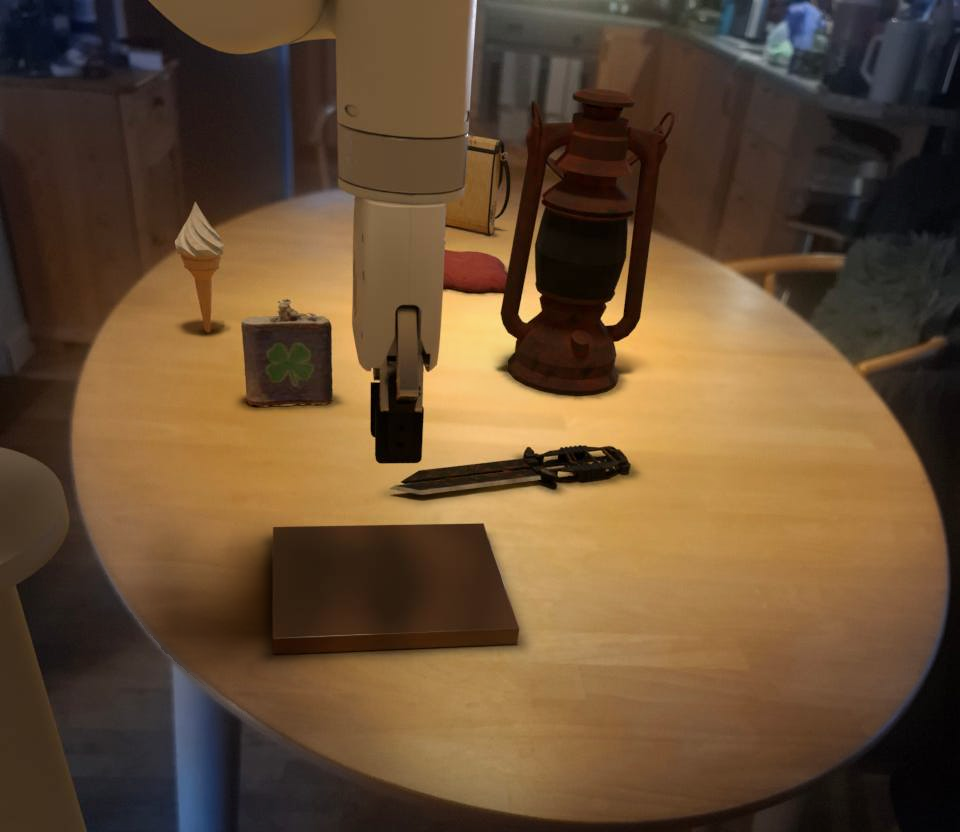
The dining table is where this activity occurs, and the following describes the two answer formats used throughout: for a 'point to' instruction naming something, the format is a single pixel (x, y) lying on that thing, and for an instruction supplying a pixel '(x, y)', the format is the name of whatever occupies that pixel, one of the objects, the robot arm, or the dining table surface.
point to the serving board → (387, 588)
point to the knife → (520, 470)
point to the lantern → (581, 243)
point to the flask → (287, 358)
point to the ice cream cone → (200, 257)
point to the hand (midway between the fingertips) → (395, 446)
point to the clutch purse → (480, 186)
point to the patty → (473, 272)
